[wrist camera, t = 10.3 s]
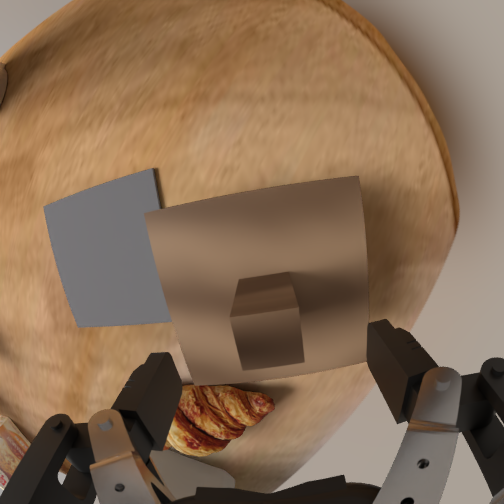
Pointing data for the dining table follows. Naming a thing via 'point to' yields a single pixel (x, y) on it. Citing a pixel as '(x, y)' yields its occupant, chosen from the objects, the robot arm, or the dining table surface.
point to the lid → (266, 280)
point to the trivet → (108, 252)
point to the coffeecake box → (10, 449)
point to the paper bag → (188, 473)
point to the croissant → (214, 417)
